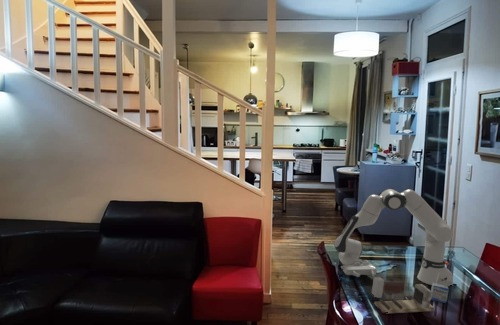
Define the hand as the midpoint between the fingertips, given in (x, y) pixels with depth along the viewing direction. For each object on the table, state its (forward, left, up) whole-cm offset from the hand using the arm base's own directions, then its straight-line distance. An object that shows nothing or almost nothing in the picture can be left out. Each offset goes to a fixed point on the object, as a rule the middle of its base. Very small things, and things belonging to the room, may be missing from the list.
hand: (366, 275), depth 214 cm
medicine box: (-34, +20, -6) cm, 40 cm away
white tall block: (0, +12, -6) cm, 14 cm away
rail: (-8, +26, -6) cm, 27 cm away
